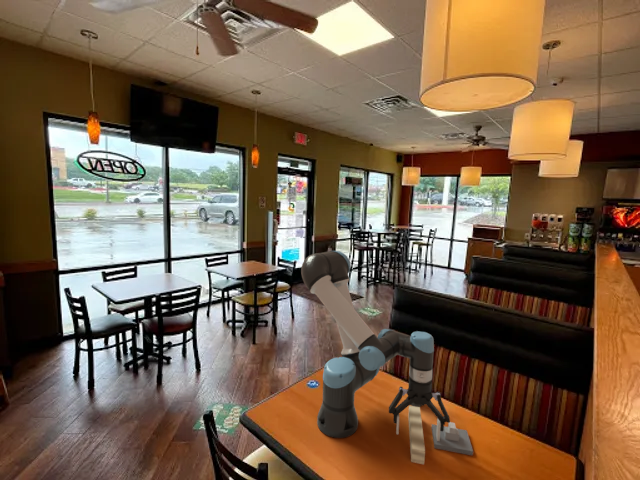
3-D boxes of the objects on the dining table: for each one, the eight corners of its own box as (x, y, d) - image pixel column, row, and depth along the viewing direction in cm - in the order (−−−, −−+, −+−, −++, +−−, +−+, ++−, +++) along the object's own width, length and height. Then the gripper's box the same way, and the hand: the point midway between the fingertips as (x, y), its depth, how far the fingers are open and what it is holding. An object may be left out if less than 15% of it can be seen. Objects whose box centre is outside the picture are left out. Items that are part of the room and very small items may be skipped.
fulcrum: (434, 448, 107) (435, 431, 107) (431, 427, 117) (432, 412, 116) (472, 455, 105) (474, 439, 104) (466, 434, 114) (467, 418, 114)
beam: (424, 465, 101) (425, 451, 100) (411, 462, 102) (412, 448, 101) (418, 419, 122) (419, 407, 121) (408, 417, 123) (409, 405, 122)
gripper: (382, 378, 108) (380, 436, 110) (461, 389, 102) (457, 449, 105) (383, 367, 115) (381, 422, 118) (457, 377, 110) (453, 433, 112)
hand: (417, 435), depth 111 cm, fingers open, 13 cm apart
